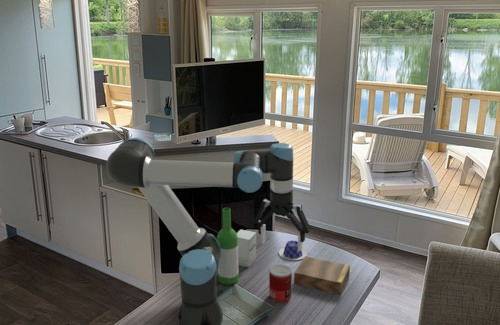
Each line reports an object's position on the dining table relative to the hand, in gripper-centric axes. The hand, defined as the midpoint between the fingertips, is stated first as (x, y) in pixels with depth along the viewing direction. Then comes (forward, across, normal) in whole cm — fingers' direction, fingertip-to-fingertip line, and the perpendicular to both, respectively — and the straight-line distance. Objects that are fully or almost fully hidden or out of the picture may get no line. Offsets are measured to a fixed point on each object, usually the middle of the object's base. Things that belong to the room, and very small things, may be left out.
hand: (281, 246), depth 164 cm
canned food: (+21, 0, 0) cm, 21 cm away
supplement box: (+21, +22, -17) cm, 35 cm away
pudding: (+21, +6, -31) cm, 38 cm away
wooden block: (+21, -11, -16) cm, 28 cm away
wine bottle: (+21, +22, -2) cm, 30 cm away
